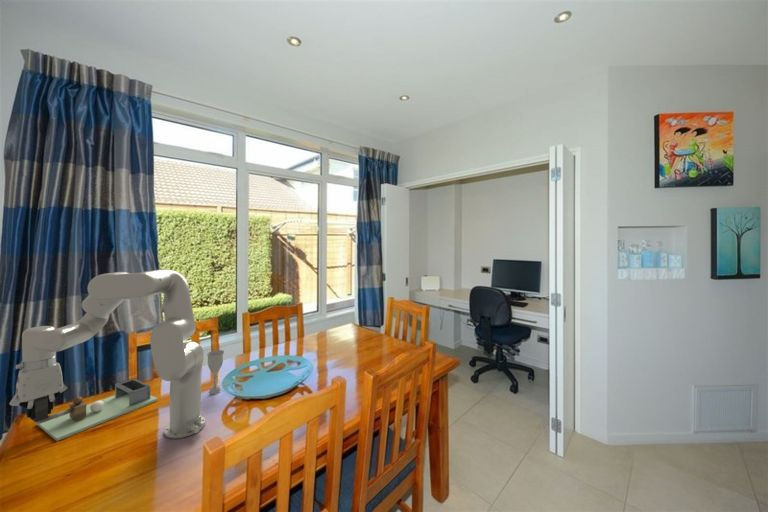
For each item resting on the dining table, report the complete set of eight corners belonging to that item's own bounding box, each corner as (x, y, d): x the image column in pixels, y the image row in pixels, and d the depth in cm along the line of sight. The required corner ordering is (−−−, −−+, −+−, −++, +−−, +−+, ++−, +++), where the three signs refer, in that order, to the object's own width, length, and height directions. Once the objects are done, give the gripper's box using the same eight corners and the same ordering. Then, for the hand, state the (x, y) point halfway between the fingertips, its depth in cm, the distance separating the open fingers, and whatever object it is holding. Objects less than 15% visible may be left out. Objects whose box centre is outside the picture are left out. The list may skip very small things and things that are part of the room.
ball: (106, 410, 116) (106, 400, 116) (92, 415, 113) (92, 405, 113) (101, 407, 118) (101, 397, 118) (88, 412, 115) (88, 402, 114)
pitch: (157, 400, 126) (157, 398, 126) (56, 441, 99) (56, 438, 99) (135, 389, 134) (135, 387, 134) (37, 424, 108) (37, 422, 107)
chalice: (215, 396, 131) (215, 356, 131) (202, 394, 133) (202, 354, 132) (227, 388, 139) (227, 350, 138) (214, 386, 140) (215, 349, 139)
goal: (150, 400, 126) (150, 384, 126) (130, 408, 120) (130, 391, 120) (134, 392, 132) (134, 377, 132) (114, 399, 126) (115, 383, 125)
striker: (86, 416, 111) (86, 387, 110) (36, 435, 100) (36, 402, 99) (80, 413, 113) (80, 383, 113) (31, 431, 102) (30, 398, 101)
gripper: (5, 374, 92) (5, 431, 93) (77, 357, 107) (77, 407, 108) (-3, 369, 96) (-2, 424, 96) (68, 353, 110) (68, 401, 111)
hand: (40, 414), depth 102 cm, fingers closed on striker, 3 cm apart
